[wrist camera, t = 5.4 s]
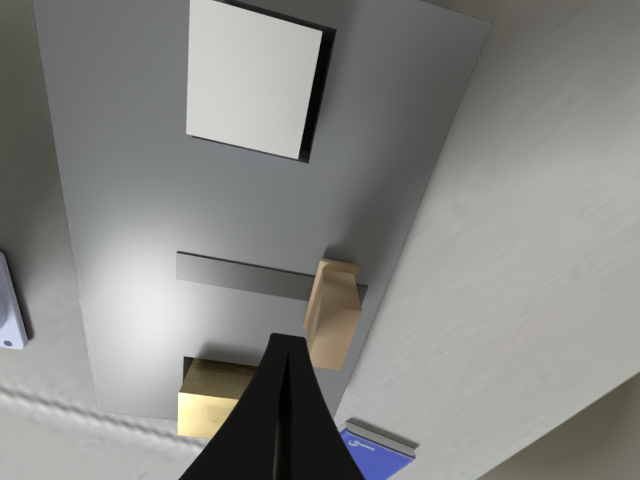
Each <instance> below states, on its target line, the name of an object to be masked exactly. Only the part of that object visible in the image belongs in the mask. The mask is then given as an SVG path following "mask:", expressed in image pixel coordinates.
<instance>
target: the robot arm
mask: <svg viewBox="0 0 640 480" xmlns="http://www.w3.org/2000/svg"><path fill="white" fill-rule="evenodd" d="M27 345H28V339H27V335H26V331H25V328H24V324H23V321H22V317H21V313H20V310H19V306H18V303H17V299H16V295H15V292H14V288H13V285H12V281H11V277H10V274H9V270H8V267H7V263H6V259H5V256H4V254H3V253H2V252H1V251H0V347H4V348H12V349H23V348H24V347H26V346H27ZM274 455H275V457H274ZM273 471H274V473H273ZM179 480H366V479H365V477H364V476H363V474H362V472H361V471H360V469H359V467H358V466H357V464H356V462H355V461H354V459H353V457H352V456H351V454H350V452H349V450H348V448H347V446H346V445H345V443H344V441H343V439H342V437H341V435H340V433H339V431H338V429H337V427H336V425H335V423H334V421H333V418H332V416H331V414H330V412H329V409H328V407H327V405H326V402H325V400H324V397H323V395H322V392H321V389H320V387H319V384H318V381H317V378H316V375H315V372H314V369H313V366H312V362H311V359H310V355H309V351H308V347H307V341H306V339H305V337H300V336H293V335H287V334H280V333H272V334H270V338H269V342H268V345H267V348H266V350H265V353H264V355H263V357H262V359H261V362H260V364H259V365H258V367H257V369H256V371H255V373H254V375H253V377H252V379H251V381H250V382H249V384H248V386H247V387H246V389H245V391H244V392H243V394H242V396H241V397H240V399H239V401H238V402H237V404H236V405H235V407H234V408H233V410H232V411H231V413H230V414H229V416H228V417H227V419H226V420H225V421H224V423H223V424H222V426H221V427H220V428H219V430H218V431H217V432H216V434H215V435H214V436H213V438H212V439H211V440H210V442H209V443H208V444H207V446H206V447H205V448H204V450H203V451H202V452H201V453H200V455H199V456H198V457H197V458H196V459H195V461H194V462H193V463H192V464H191V465H190V467H189V468H188V469H187V470H186V471H185V472H184V474H183V475H182V476H181V477H180V478H179Z"/></svg>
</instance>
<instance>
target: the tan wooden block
mask: <svg viewBox="0 0 640 480" xmlns="http://www.w3.org/2000/svg"><path fill="white" fill-rule="evenodd" d="M359 269H360V268H359V265H356V264H351V263H346V262H340V261H335V260H330V259H324V258H320V260H319V264H318V268H317V272H316V275H315V279H314V283H313V287H312V291H311V294H310V298H309V302H308V306H307V309H306V313H305V317H304V321H303V325H302V328H305V329H307V347H308V351H309V355H310V359H311V362H312V366H313V367H320V368H327V369H334V370H340V369H341V367H342V364H343V361H344V359H345V356H346V353H347V351H348V348H349V345H350V343H351V340H352V337H353V335H354V332H355V329H356V327H357V324H358V321H359V318H360V316H361V313H362V308H361V304H360V300H359V295H358V291H357V287H356V282H355V280H356V277H357V275H358V272H359Z"/></svg>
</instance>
